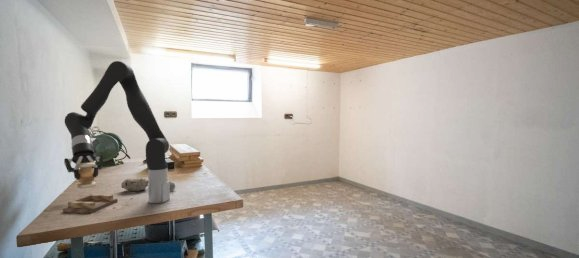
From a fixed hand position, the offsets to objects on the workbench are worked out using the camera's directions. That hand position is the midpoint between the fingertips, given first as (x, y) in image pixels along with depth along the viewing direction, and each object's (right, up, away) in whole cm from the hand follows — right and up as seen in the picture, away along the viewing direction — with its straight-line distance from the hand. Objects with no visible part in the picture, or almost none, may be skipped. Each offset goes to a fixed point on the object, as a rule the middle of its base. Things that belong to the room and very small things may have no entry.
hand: (87, 177), depth 110 cm
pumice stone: (-5, -16, +43) cm, 46 cm away
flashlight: (+11, -16, +47) cm, 51 cm away
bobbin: (-1, -4, +1) cm, 5 cm away
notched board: (-10, -17, +16) cm, 25 cm away
